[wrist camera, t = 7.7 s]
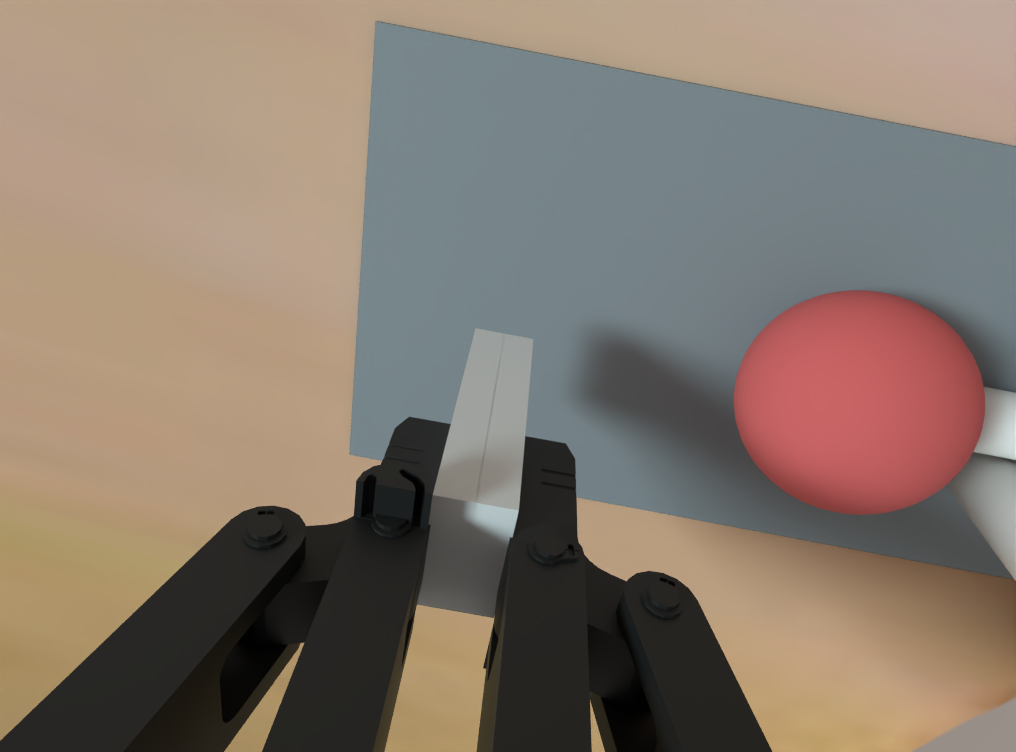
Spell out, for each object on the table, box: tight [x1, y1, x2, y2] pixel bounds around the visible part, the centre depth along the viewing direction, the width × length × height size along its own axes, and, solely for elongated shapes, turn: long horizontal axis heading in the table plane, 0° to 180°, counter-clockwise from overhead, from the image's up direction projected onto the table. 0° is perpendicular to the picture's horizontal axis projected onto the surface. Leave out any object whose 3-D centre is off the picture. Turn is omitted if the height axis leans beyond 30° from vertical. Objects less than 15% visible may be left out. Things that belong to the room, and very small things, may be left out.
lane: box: [349, 21, 1016, 579], centre depth 21 cm, size 14×26×1 cm, turn 80°
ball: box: [734, 290, 985, 515], centre depth 18 cm, size 6×6×6 cm
